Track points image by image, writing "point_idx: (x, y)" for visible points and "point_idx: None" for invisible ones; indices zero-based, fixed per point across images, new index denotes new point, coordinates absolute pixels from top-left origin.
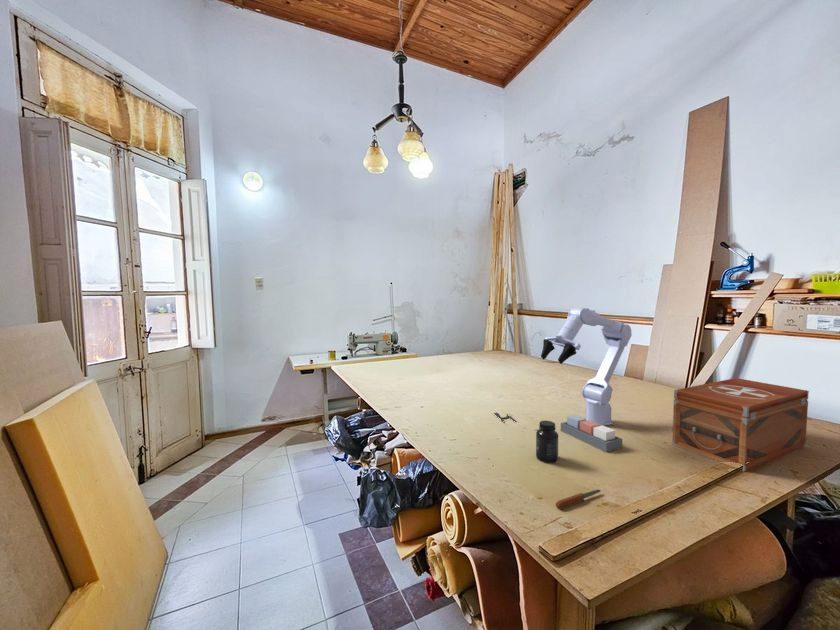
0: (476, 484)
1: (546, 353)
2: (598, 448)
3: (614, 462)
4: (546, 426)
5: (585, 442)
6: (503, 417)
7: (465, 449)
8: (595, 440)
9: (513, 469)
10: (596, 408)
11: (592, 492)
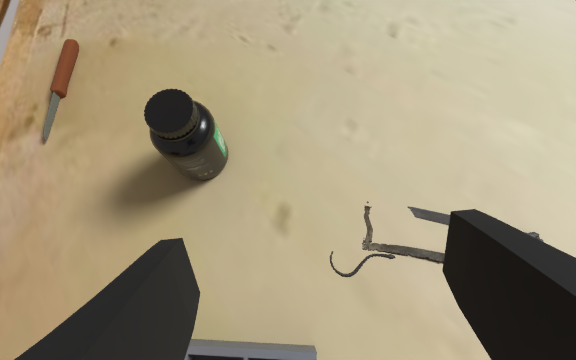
0: None
1: (503, 328)
2: None
3: (89, 297)
4: (157, 94)
5: (208, 340)
6: None
7: (333, 29)
8: None
9: (208, 63)
10: None
11: (48, 117)
